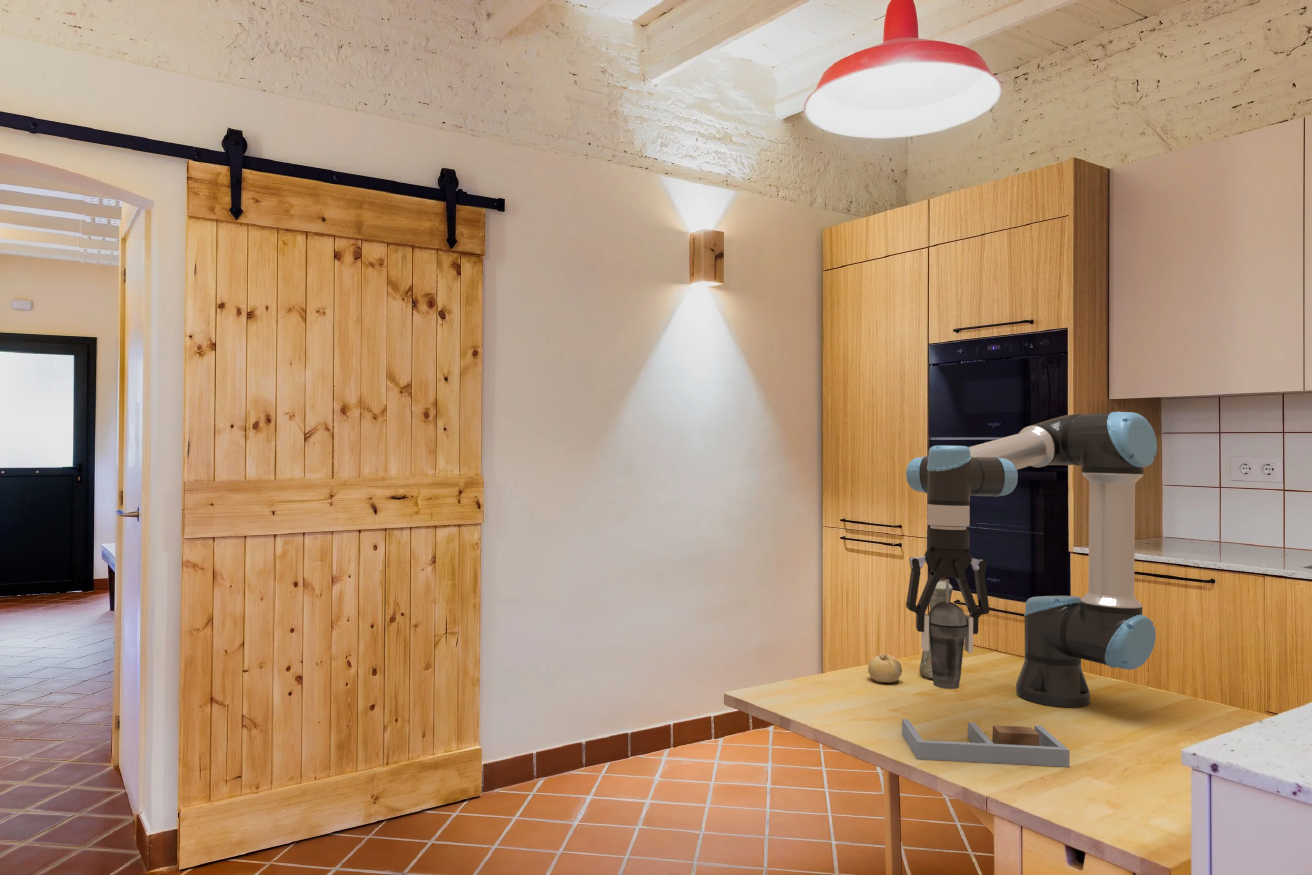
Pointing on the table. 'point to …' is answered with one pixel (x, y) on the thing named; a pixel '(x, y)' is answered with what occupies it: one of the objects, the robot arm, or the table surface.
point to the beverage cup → (947, 642)
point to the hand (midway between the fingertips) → (946, 650)
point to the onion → (884, 668)
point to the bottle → (925, 664)
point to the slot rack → (988, 748)
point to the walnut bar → (1015, 735)
